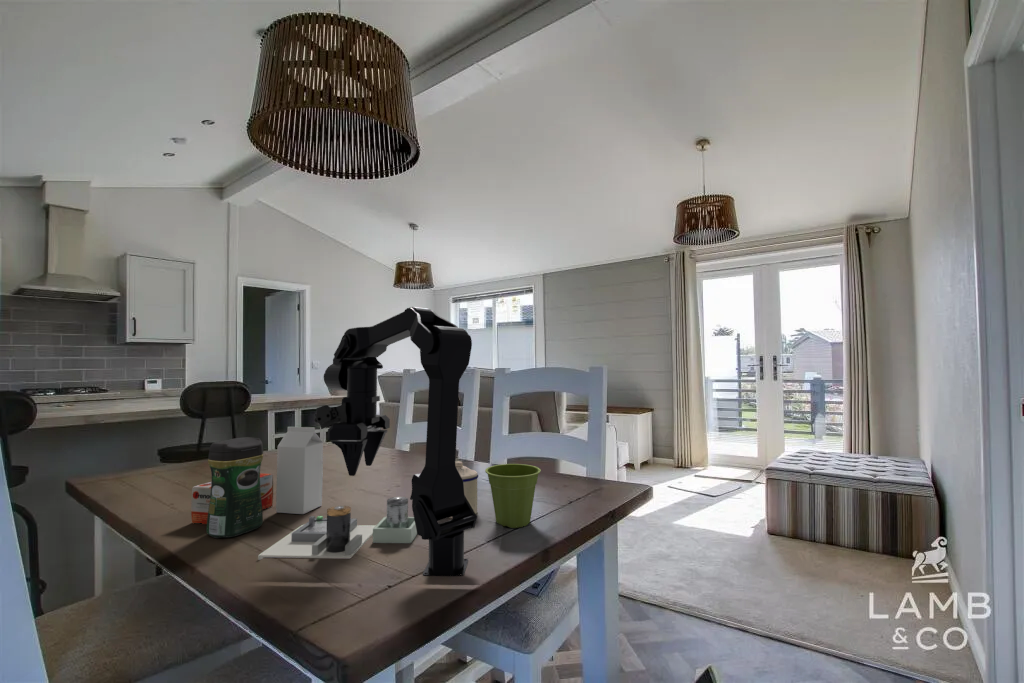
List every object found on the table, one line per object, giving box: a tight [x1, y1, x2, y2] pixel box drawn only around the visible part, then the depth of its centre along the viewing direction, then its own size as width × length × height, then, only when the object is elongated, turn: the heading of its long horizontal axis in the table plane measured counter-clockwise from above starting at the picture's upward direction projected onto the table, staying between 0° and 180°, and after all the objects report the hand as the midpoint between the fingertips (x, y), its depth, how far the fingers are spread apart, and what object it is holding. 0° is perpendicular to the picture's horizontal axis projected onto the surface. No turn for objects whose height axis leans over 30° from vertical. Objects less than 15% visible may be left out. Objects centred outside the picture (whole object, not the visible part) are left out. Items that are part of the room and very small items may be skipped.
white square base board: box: [257, 515, 377, 561], centre depth 90 cm, size 16×16×3 cm
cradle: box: [302, 515, 327, 532], centre depth 93 cm, size 6×6×3 cm
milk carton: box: [275, 426, 324, 515], centre depth 112 cm, size 7×7×19 cm
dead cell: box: [386, 496, 409, 528], centre depth 93 cm, size 4×4×7 cm
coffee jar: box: [206, 436, 264, 539], centre depth 97 cm, size 10×8×19 cm
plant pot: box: [484, 463, 542, 529], centre depth 102 cm, size 12×12×11 cm
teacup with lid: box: [448, 460, 479, 519], centre depth 109 cm, size 12×9×12 cm
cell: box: [326, 505, 352, 553], centre depth 86 cm, size 4×4×7 cm
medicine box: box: [190, 472, 274, 525], centre depth 108 cm, size 15×8×8 cm, turn 166°
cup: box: [372, 516, 418, 544], centre depth 93 cm, size 7×7×3 cm
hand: (360, 470), depth 96 cm, fingers open, 9 cm apart
